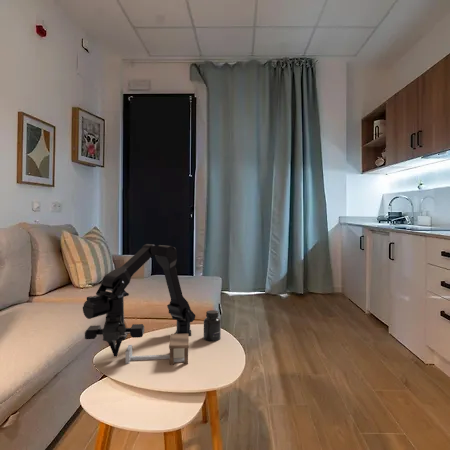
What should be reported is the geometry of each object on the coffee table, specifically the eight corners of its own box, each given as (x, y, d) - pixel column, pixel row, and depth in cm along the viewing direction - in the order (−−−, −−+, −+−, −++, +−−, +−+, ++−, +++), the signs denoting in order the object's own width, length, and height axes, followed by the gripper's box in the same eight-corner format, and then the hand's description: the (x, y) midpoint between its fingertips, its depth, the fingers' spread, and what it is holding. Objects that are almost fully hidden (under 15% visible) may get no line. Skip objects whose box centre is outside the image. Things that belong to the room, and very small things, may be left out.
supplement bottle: (218, 345, 136) (218, 314, 135) (201, 344, 137) (201, 313, 137) (222, 338, 143) (222, 309, 142) (206, 337, 144) (206, 308, 143)
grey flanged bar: (128, 355, 123) (128, 344, 123) (186, 353, 126) (186, 342, 125) (125, 364, 116) (125, 352, 116) (186, 361, 119) (186, 350, 118)
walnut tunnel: (170, 352, 127) (170, 333, 126) (188, 351, 127) (188, 333, 127) (169, 365, 116) (169, 345, 116) (188, 365, 117) (188, 345, 116)
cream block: (173, 353, 124) (173, 342, 123) (185, 352, 124) (185, 341, 124) (173, 358, 120) (173, 346, 119) (185, 357, 120) (185, 346, 120)
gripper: (78, 319, 110) (80, 368, 111) (139, 317, 112) (140, 365, 113) (89, 309, 121) (90, 353, 122) (144, 307, 123) (144, 351, 124)
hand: (115, 356), depth 120 cm, fingers closed
